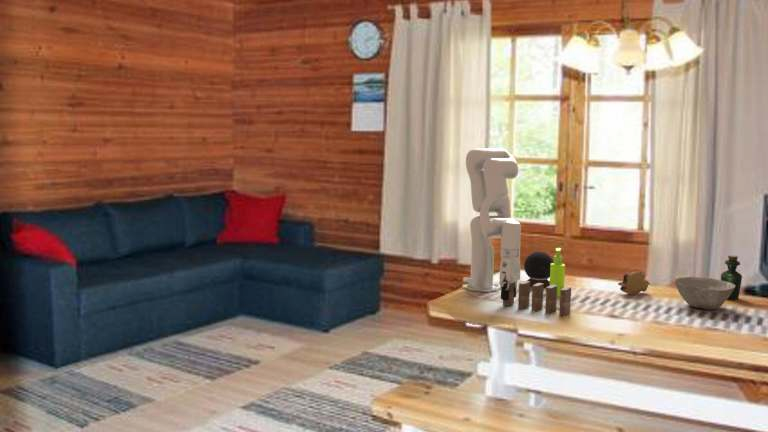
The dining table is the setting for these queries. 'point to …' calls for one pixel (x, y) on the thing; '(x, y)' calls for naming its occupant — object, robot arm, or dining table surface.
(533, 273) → the black ball on stand
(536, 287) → the domino
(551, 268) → the soap dispenser
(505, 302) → the domino
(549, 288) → the domino
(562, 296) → the domino
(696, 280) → the ceramic bowl
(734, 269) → the potion bottle
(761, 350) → the dining table surface
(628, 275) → the wooden carving
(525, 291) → the domino
